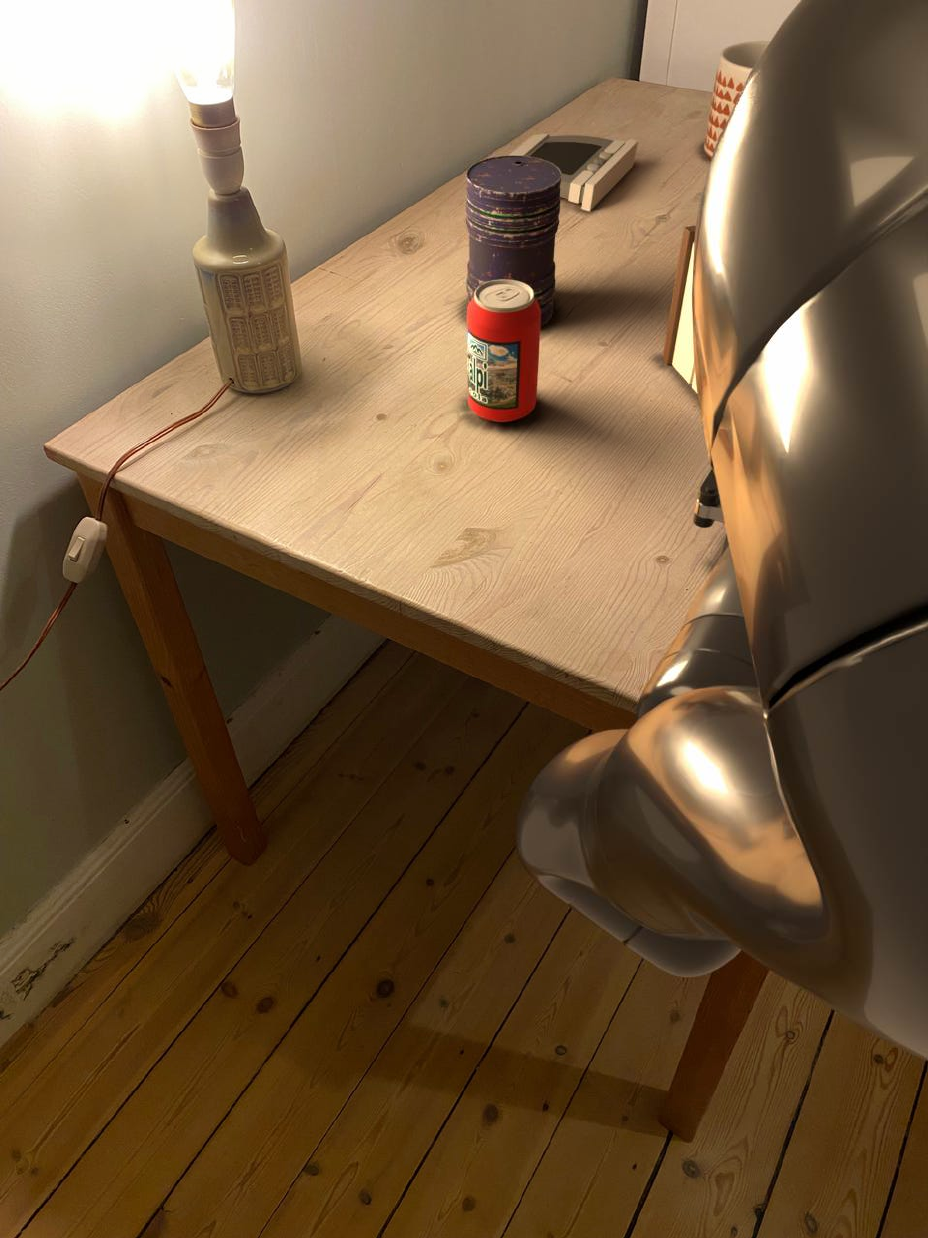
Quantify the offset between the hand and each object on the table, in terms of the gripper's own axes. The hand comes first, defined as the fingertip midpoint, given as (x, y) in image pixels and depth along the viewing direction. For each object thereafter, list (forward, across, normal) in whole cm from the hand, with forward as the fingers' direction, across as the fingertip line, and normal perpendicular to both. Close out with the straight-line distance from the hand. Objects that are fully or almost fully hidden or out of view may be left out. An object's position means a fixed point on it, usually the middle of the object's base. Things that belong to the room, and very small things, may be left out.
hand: (859, 453), depth 57 cm
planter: (+89, +36, +16) cm, 97 cm away
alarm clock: (+67, +56, +16) cm, 89 cm away
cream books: (+30, +18, +16) cm, 38 cm away
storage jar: (+31, +43, +16) cm, 56 cm away
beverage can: (+14, +34, +16) cm, 40 cm away
